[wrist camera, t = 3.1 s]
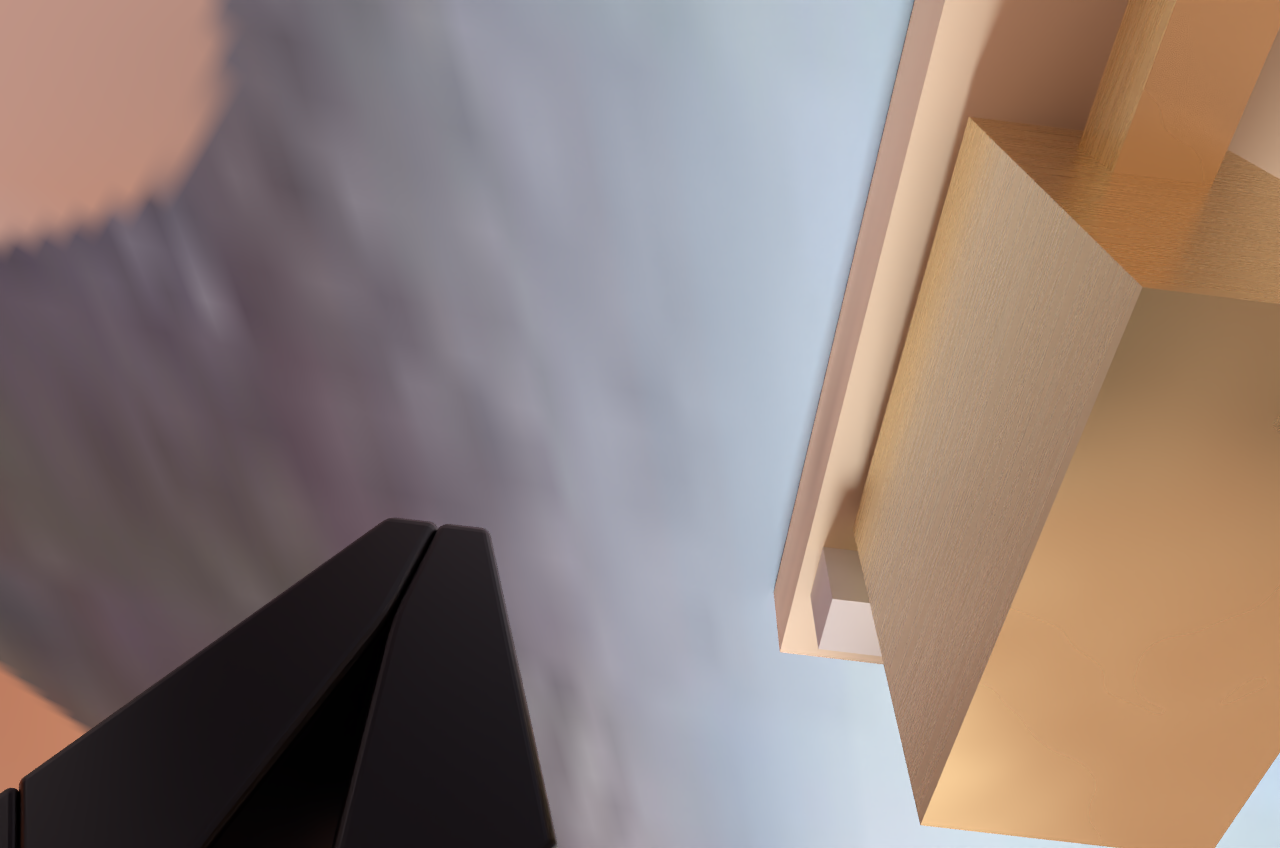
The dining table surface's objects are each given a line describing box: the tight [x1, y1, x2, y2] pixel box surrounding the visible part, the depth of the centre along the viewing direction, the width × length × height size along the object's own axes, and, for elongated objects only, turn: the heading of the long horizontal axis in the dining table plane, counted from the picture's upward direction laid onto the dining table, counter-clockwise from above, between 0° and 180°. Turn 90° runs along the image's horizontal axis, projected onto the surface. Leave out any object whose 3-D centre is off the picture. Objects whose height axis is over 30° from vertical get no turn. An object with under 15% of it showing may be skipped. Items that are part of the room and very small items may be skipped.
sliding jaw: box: [853, 0, 1280, 848], centre depth 9 cm, size 3×10×5 cm, turn 174°
